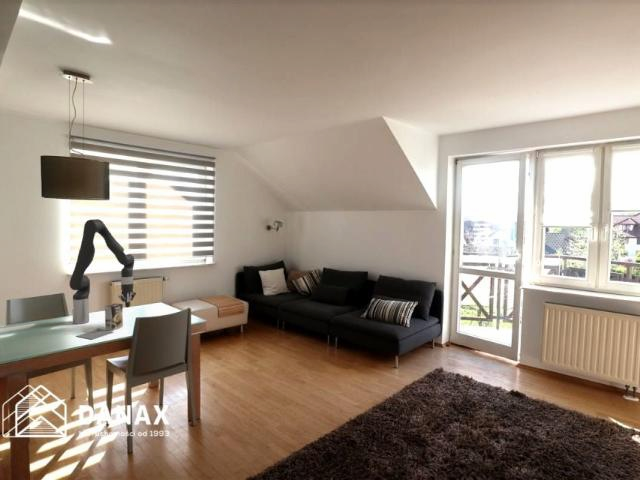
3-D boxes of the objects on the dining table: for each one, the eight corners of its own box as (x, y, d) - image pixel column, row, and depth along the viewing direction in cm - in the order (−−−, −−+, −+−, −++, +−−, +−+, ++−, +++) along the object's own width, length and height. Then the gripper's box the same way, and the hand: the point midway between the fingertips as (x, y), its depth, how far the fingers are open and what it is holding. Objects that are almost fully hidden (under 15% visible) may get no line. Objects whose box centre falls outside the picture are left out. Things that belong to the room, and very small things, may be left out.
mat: (76, 336, 223) (76, 336, 223) (98, 329, 237) (98, 328, 237) (92, 339, 218) (92, 339, 218) (113, 332, 232) (113, 331, 232)
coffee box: (113, 330, 235) (112, 307, 234) (104, 330, 236) (104, 306, 235) (123, 326, 244) (122, 303, 243) (115, 325, 245) (114, 303, 244)
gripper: (131, 280, 255) (131, 304, 257) (114, 284, 243) (115, 308, 244) (139, 281, 253) (139, 305, 254) (122, 285, 240) (123, 310, 242)
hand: (127, 307), depth 249 cm, fingers closed
